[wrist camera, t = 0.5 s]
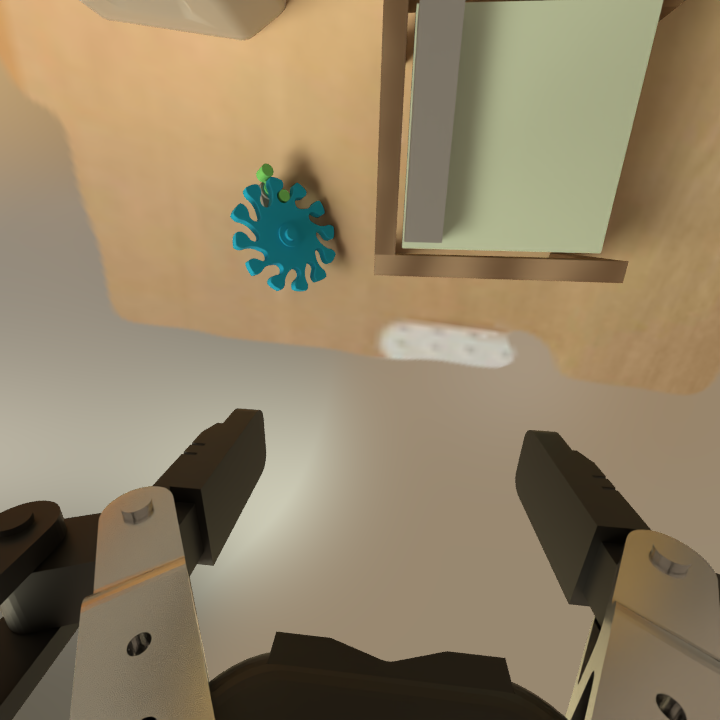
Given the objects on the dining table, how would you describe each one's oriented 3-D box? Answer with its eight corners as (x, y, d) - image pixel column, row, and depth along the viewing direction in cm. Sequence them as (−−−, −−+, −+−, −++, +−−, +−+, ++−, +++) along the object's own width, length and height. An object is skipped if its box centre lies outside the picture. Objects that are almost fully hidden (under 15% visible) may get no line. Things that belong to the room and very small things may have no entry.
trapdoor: (401, 247, 27) (403, 249, 23) (415, 13, 22) (420, -27, 19) (593, 252, 26) (623, 255, 22) (651, 7, 21) (701, -35, 18)
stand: (378, 264, 36) (374, 275, 27) (387, 42, 29) (384, -40, 20) (562, 269, 34) (622, 283, 25) (612, 38, 28) (714, -51, 19)
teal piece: (349, 281, 35) (254, 299, 29) (318, 289, 40) (232, 307, 34) (323, 163, 33) (215, 158, 27) (294, 187, 38) (197, 186, 32)
